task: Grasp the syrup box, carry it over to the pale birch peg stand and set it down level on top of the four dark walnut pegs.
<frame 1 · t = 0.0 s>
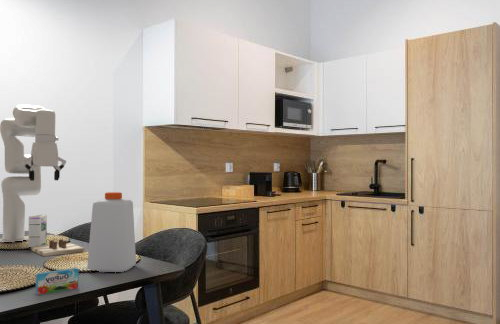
hand: (44, 180, 187), 31 cm above the table, fingers open, 9 cm apart
peg stand: (57, 250, 196), on the table
syrup box: (37, 247, 205), on the table
yogurt: (57, 292, 134), on the table
plastic bottle: (112, 269, 165), on the table
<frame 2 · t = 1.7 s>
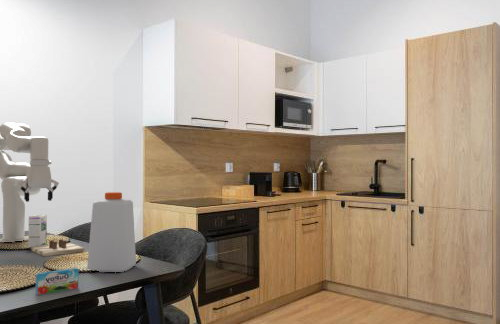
hand: (38, 201, 205), 21 cm above the table, fingers open, 9 cm apart
nothing on the table moved.
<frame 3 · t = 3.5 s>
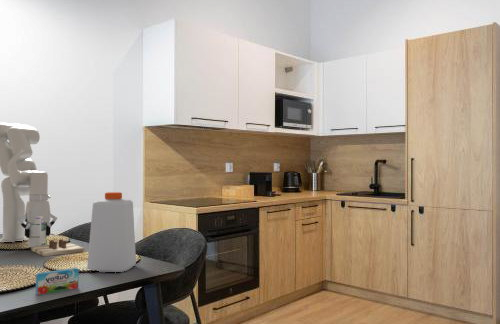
hand: (37, 236, 205), 5 cm above the table, fingers closed on syrup box, 8 cm apart
syrup box: (37, 247, 205), on the table, touching gripper
everything else where it was.
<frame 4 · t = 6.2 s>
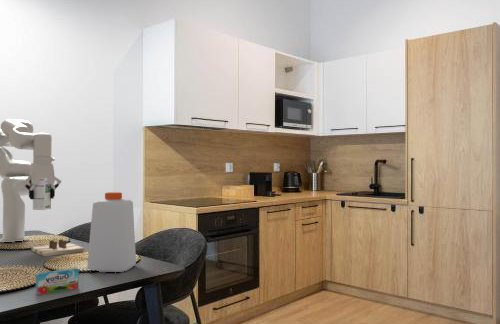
hand: (41, 198, 203), 22 cm above the table, fingers closed on syrup box, 8 cm apart
syrup box: (41, 209, 203), point 17 cm above the table, touching gripper
everything else where it was.
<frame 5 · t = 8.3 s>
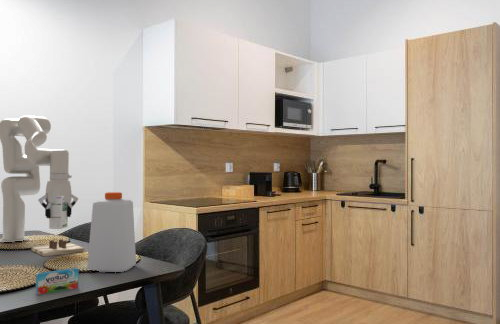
hand: (58, 217, 196), 15 cm above the table, fingers closed on syrup box, 8 cm apart
syrup box: (58, 228, 196), point 10 cm above the table, touching gripper
everything else where it was.
when the fingers open (11 cm above the table, at t = 9.7 s): syrup box drops 1 cm, resting on peg stand.
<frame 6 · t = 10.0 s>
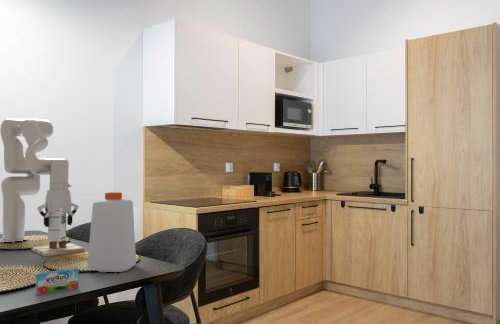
hand: (58, 225, 196), 11 cm above the table, fingers open, 9 cm apart
syrup box: (56, 241, 196), point 4 cm above the table, touching peg stand
everything else where it was.
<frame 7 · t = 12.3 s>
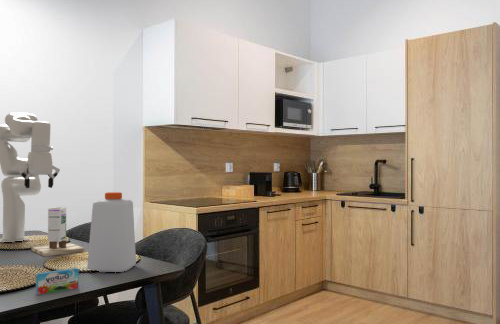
hand: (38, 187, 199), 27 cm above the table, fingers open, 9 cm apart
nothing on the table moved.
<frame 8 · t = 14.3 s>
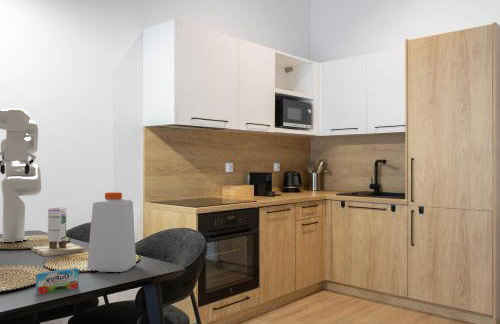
hand: (14, 174, 202), 33 cm above the table, fingers open, 9 cm apart
nothing on the table moved.
at the end: syrup box 0.4 cm off-centre on the peg stand, point 4.3 cm above the peg stand's base; syrup box tilted 0°; the gripper is holding nothing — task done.
